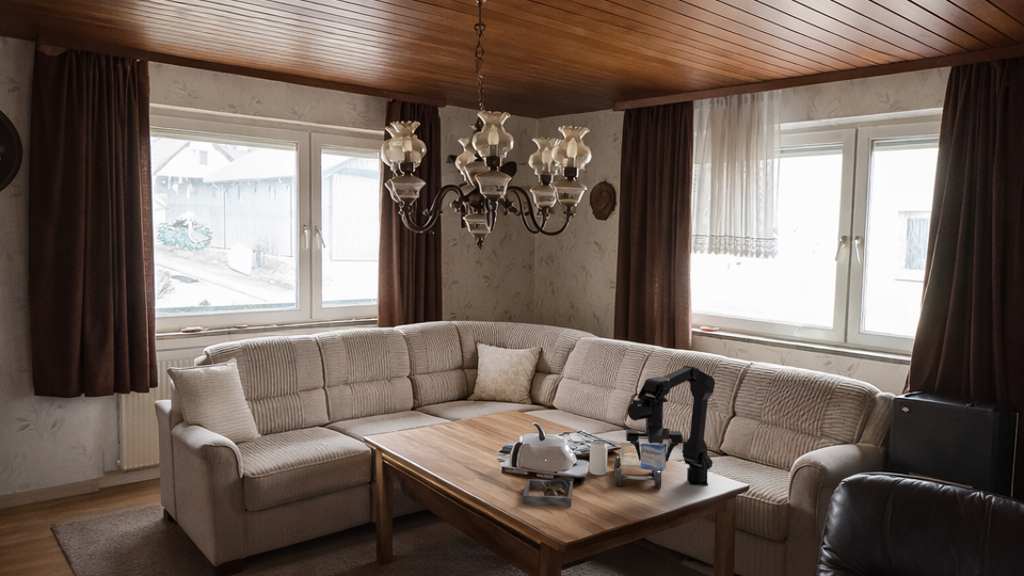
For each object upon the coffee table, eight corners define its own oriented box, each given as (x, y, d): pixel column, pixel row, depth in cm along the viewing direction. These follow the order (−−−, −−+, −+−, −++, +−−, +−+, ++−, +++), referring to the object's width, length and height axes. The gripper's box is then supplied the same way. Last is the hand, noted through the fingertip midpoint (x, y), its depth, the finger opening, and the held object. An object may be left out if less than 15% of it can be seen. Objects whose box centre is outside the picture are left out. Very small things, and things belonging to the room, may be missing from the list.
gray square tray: (572, 489, 250) (572, 481, 250) (571, 507, 235) (571, 498, 234) (527, 487, 252) (527, 479, 252) (522, 504, 236) (522, 495, 236)
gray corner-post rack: (656, 471, 271) (657, 440, 270) (661, 490, 251) (662, 457, 250) (613, 469, 273) (614, 439, 272) (615, 487, 253) (616, 455, 252)
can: (607, 470, 270) (608, 440, 270) (605, 476, 264) (606, 445, 263) (591, 469, 272) (591, 438, 271) (588, 474, 266) (588, 443, 265)
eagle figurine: (550, 498, 239) (574, 490, 242) (542, 478, 242) (566, 470, 245) (544, 503, 245) (567, 495, 249) (536, 483, 248) (559, 475, 251)
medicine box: (640, 468, 244) (640, 443, 243) (643, 464, 247) (644, 440, 247) (662, 471, 240) (663, 446, 239) (666, 468, 244) (666, 443, 243)
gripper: (628, 421, 235) (626, 467, 237) (685, 423, 233) (684, 469, 235) (626, 412, 246) (625, 456, 248) (681, 414, 244) (679, 459, 246)
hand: (653, 460), depth 244 cm, fingers closed on medicine box, 9 cm apart
